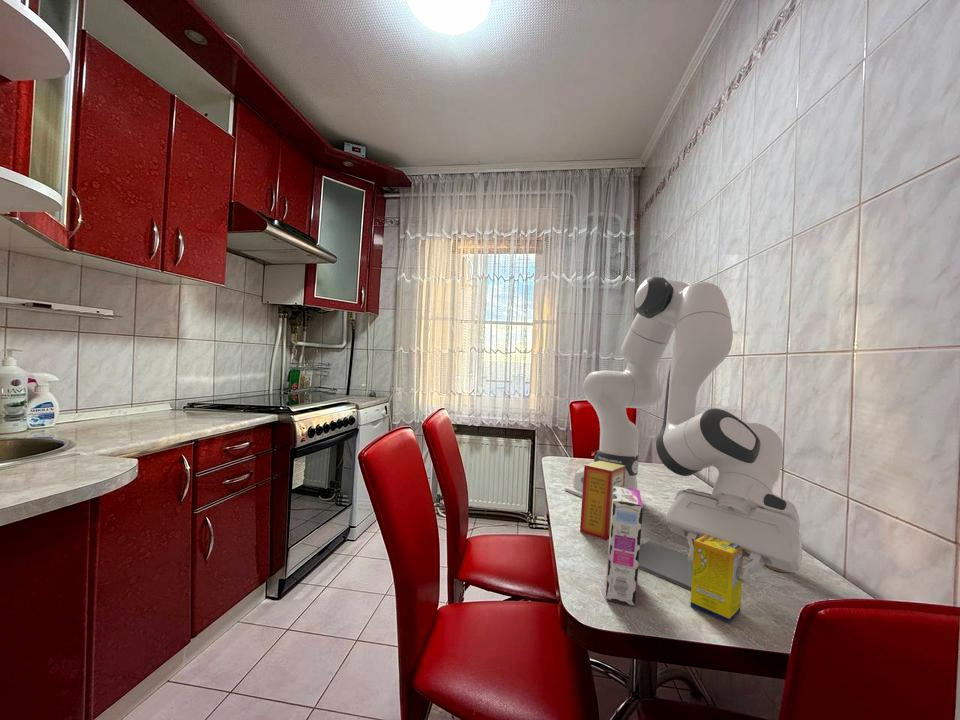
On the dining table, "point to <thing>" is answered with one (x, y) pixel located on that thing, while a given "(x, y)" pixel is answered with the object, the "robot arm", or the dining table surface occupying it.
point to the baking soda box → (599, 496)
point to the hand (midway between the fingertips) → (715, 570)
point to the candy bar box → (624, 546)
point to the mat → (666, 563)
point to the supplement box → (716, 578)
